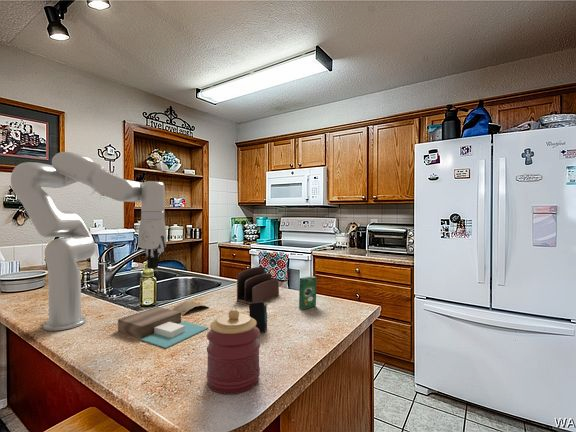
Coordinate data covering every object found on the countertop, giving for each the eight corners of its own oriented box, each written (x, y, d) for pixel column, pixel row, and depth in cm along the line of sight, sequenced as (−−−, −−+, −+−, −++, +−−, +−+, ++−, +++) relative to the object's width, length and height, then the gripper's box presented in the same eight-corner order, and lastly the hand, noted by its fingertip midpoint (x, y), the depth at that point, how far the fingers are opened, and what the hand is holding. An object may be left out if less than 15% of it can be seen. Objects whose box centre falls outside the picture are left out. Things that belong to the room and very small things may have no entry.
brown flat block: (118, 330, 106) (117, 319, 106) (157, 316, 120) (157, 306, 120) (142, 338, 100) (142, 326, 99) (181, 322, 114) (181, 312, 113)
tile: (154, 333, 103) (154, 327, 103) (168, 327, 108) (168, 321, 108) (171, 338, 99) (171, 331, 99) (185, 331, 105) (185, 325, 105)
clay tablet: (181, 317, 121) (181, 310, 121) (168, 312, 127) (168, 305, 127) (211, 308, 132) (211, 302, 132) (198, 303, 138) (198, 298, 138)
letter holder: (236, 301, 141) (236, 271, 140) (263, 292, 157) (263, 264, 157) (252, 305, 135) (253, 273, 135) (279, 295, 152) (279, 266, 151)
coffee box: (312, 304, 136) (312, 275, 136) (316, 306, 134) (317, 276, 134) (298, 308, 131) (298, 277, 131) (303, 310, 129) (303, 279, 129)
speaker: (266, 334, 103) (265, 302, 104) (249, 334, 103) (248, 303, 104) (268, 327, 111) (267, 298, 112) (252, 328, 111) (251, 299, 112)
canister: (195, 388, 72) (195, 314, 72) (225, 362, 85) (225, 299, 84) (243, 400, 68) (244, 322, 67) (268, 371, 80) (268, 304, 80)
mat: (140, 340, 98) (140, 339, 98) (184, 322, 114) (184, 321, 114) (165, 348, 93) (165, 347, 93) (208, 328, 108) (208, 327, 108)
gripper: (130, 216, 109) (129, 267, 110) (157, 217, 102) (157, 272, 102) (148, 215, 116) (148, 264, 116) (176, 217, 108) (175, 268, 109)
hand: (152, 267), depth 109 cm, fingers closed
